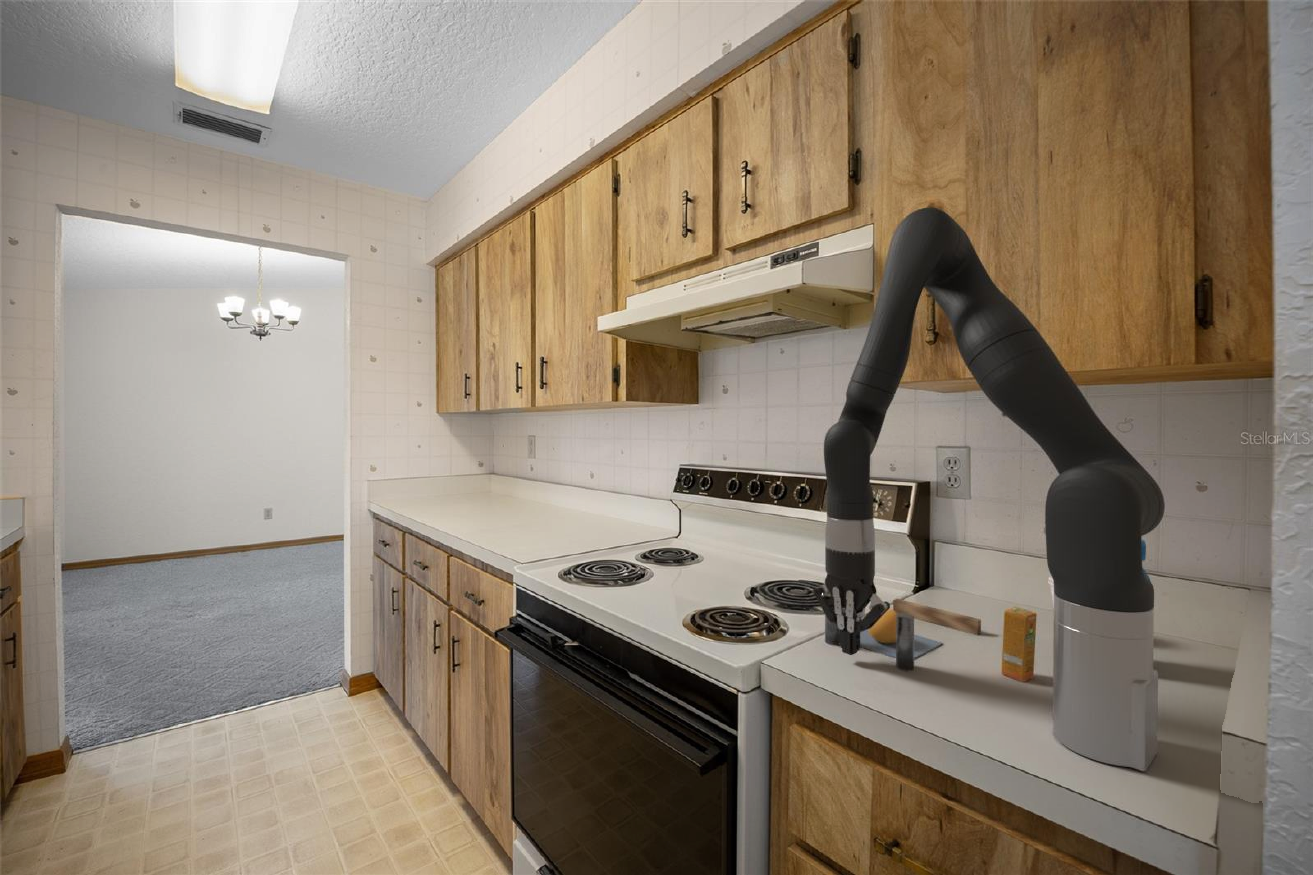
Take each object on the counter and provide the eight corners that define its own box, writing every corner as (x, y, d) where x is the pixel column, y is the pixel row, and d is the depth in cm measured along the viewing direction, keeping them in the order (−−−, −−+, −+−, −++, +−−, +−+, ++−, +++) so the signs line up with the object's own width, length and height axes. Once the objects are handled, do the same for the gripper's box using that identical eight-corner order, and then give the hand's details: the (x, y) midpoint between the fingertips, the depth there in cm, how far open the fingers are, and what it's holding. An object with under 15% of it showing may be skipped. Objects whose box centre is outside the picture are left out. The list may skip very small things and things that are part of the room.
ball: (910, 610, 97) (890, 625, 93) (910, 639, 98) (890, 655, 95) (879, 596, 101) (859, 610, 98) (880, 625, 103) (859, 640, 100)
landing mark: (942, 644, 97) (942, 642, 97) (908, 662, 90) (908, 661, 90) (878, 625, 107) (878, 624, 107) (842, 640, 99) (842, 639, 99)
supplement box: (1025, 683, 82) (1025, 615, 82) (1000, 674, 85) (1001, 609, 85) (1036, 678, 84) (1037, 611, 84) (1012, 669, 87) (1012, 605, 87)
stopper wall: (980, 633, 102) (981, 619, 102) (977, 635, 101) (977, 621, 101) (896, 610, 115) (896, 598, 115) (893, 612, 114) (893, 600, 114)
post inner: (917, 667, 88) (917, 616, 88) (908, 672, 86) (909, 620, 86) (901, 662, 90) (901, 612, 90) (892, 666, 88) (892, 615, 88)
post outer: (843, 642, 98) (843, 597, 98) (834, 646, 97) (834, 600, 96) (830, 638, 100) (830, 593, 100) (821, 641, 99) (821, 596, 99)
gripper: (901, 548, 87) (901, 659, 87) (828, 536, 97) (828, 635, 98) (875, 556, 82) (875, 673, 83) (801, 541, 93) (801, 646, 93)
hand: (849, 652), depth 90 cm, fingers closed
